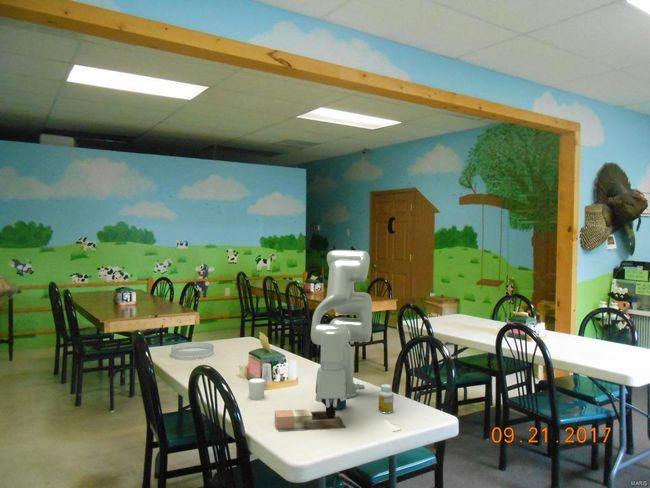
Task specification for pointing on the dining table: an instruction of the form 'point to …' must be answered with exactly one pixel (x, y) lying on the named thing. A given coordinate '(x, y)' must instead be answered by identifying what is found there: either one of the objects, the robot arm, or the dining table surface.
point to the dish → (192, 351)
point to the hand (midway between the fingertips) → (330, 417)
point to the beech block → (301, 417)
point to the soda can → (339, 404)
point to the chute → (319, 423)
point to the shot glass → (256, 388)
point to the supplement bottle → (386, 399)
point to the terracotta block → (284, 419)
